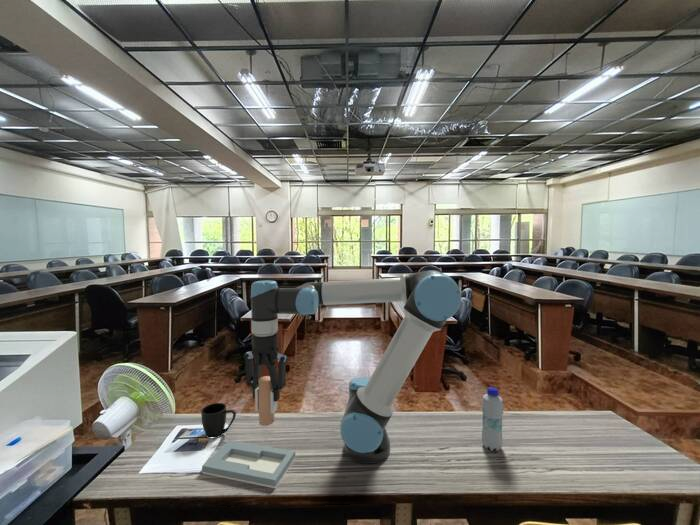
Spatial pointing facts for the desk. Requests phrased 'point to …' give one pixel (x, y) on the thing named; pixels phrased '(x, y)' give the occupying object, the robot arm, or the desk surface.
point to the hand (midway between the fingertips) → (266, 409)
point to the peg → (265, 401)
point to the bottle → (492, 419)
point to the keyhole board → (250, 463)
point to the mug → (215, 419)
